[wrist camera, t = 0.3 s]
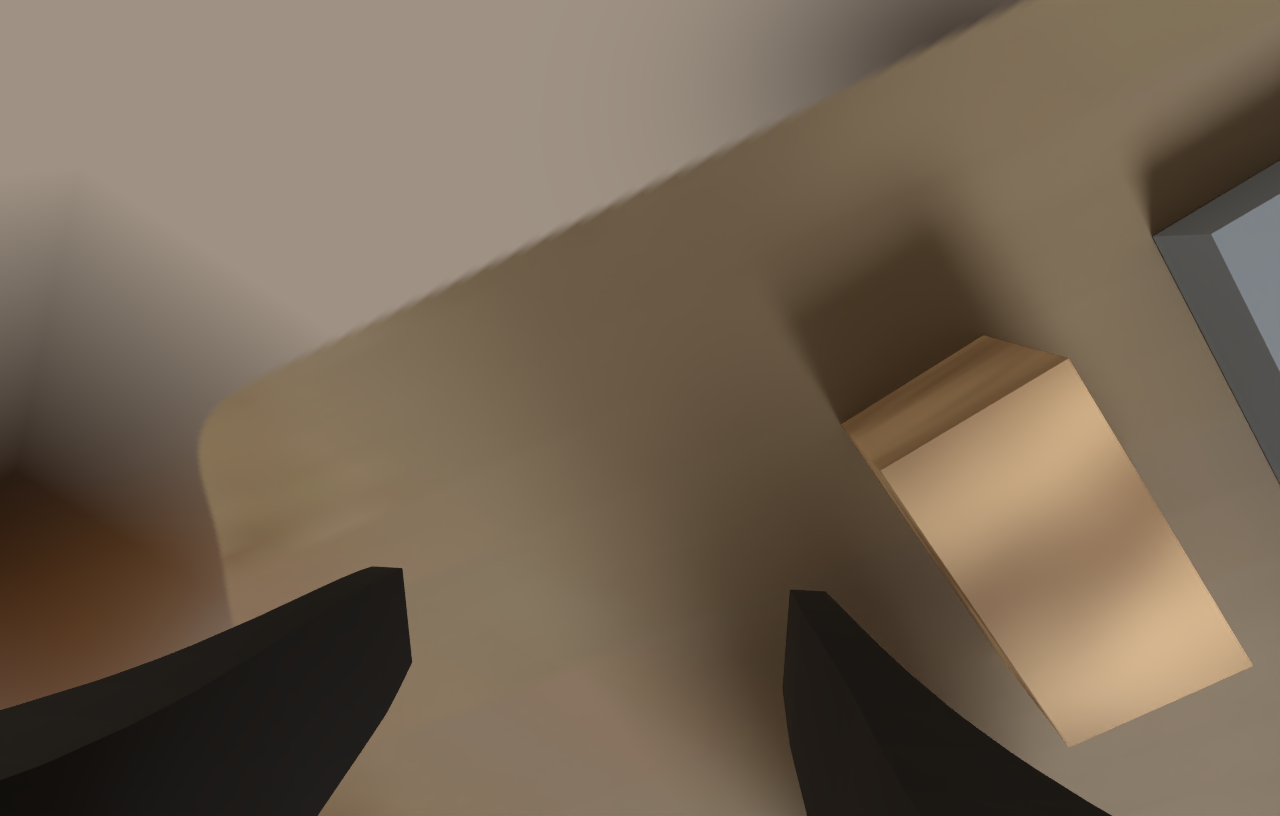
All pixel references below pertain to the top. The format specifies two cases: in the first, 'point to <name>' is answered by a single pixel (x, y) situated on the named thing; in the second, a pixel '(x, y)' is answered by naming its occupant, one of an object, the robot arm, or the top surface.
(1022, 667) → the oak bar
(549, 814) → the top surface
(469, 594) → the top surface
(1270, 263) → the slate board
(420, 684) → the top surface
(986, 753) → the robot arm
